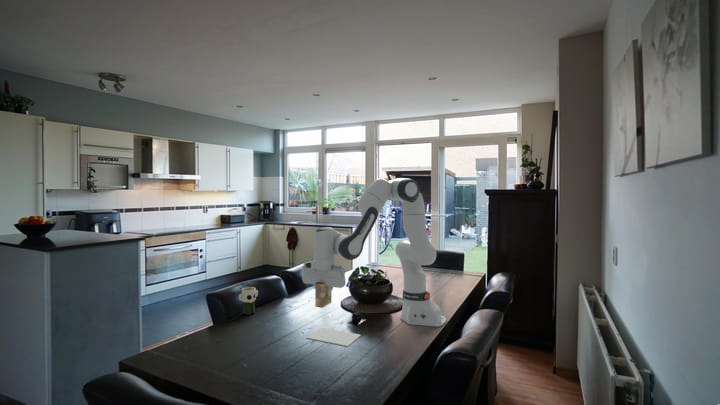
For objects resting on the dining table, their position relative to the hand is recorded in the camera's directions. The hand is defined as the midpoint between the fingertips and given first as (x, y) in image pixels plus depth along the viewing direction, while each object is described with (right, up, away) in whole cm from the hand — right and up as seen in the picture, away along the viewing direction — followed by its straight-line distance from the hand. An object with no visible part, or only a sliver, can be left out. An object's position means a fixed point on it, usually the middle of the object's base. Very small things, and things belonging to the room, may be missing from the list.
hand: (323, 295), depth 164 cm
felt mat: (+5, -18, -1) cm, 19 cm away
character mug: (-42, -17, +30) cm, 54 cm away
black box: (+14, -18, +19) cm, 30 cm away
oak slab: (0, -4, 0) cm, 4 cm away
